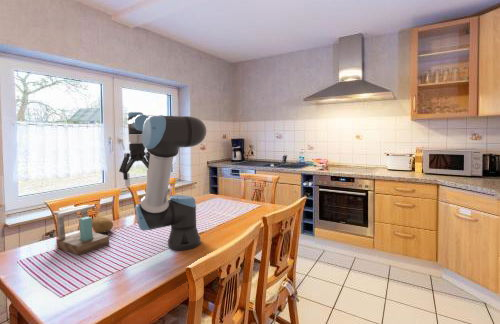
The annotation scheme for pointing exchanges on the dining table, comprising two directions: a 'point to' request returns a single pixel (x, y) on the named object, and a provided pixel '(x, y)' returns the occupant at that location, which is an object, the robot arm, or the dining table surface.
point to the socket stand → (77, 234)
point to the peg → (85, 228)
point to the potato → (101, 224)
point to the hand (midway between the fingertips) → (139, 183)
